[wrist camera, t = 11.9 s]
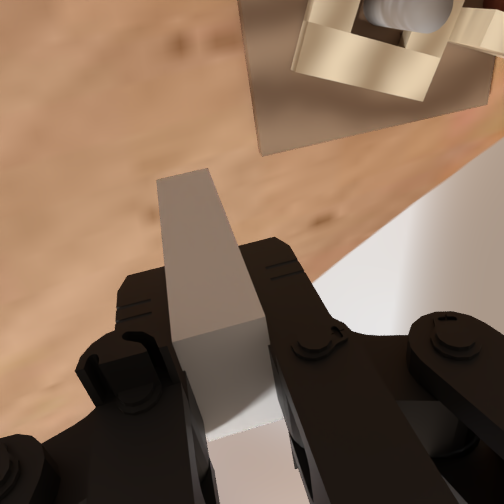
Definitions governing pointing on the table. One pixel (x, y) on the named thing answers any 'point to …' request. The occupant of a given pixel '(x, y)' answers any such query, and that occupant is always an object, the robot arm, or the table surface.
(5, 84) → the table surface
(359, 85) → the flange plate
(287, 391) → the robot arm
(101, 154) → the table surface
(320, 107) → the post board
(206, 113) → the table surface
